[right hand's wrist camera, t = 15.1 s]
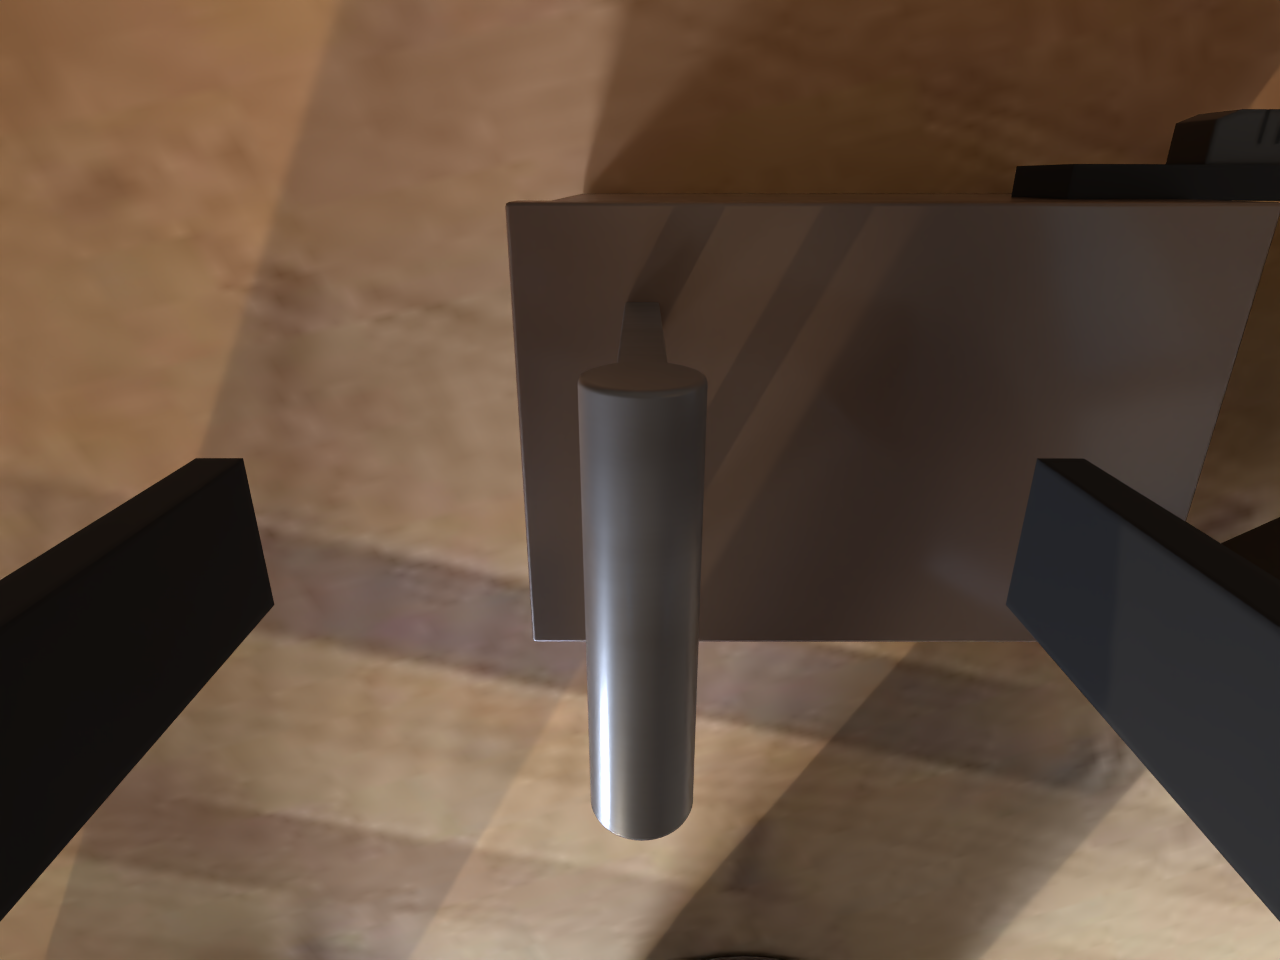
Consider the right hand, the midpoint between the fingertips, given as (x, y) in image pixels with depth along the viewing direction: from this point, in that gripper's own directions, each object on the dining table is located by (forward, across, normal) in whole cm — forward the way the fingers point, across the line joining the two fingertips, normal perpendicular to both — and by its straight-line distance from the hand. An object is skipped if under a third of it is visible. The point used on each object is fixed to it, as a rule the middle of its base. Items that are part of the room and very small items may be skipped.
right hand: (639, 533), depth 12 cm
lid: (+5, -5, 0) cm, 7 cm away
